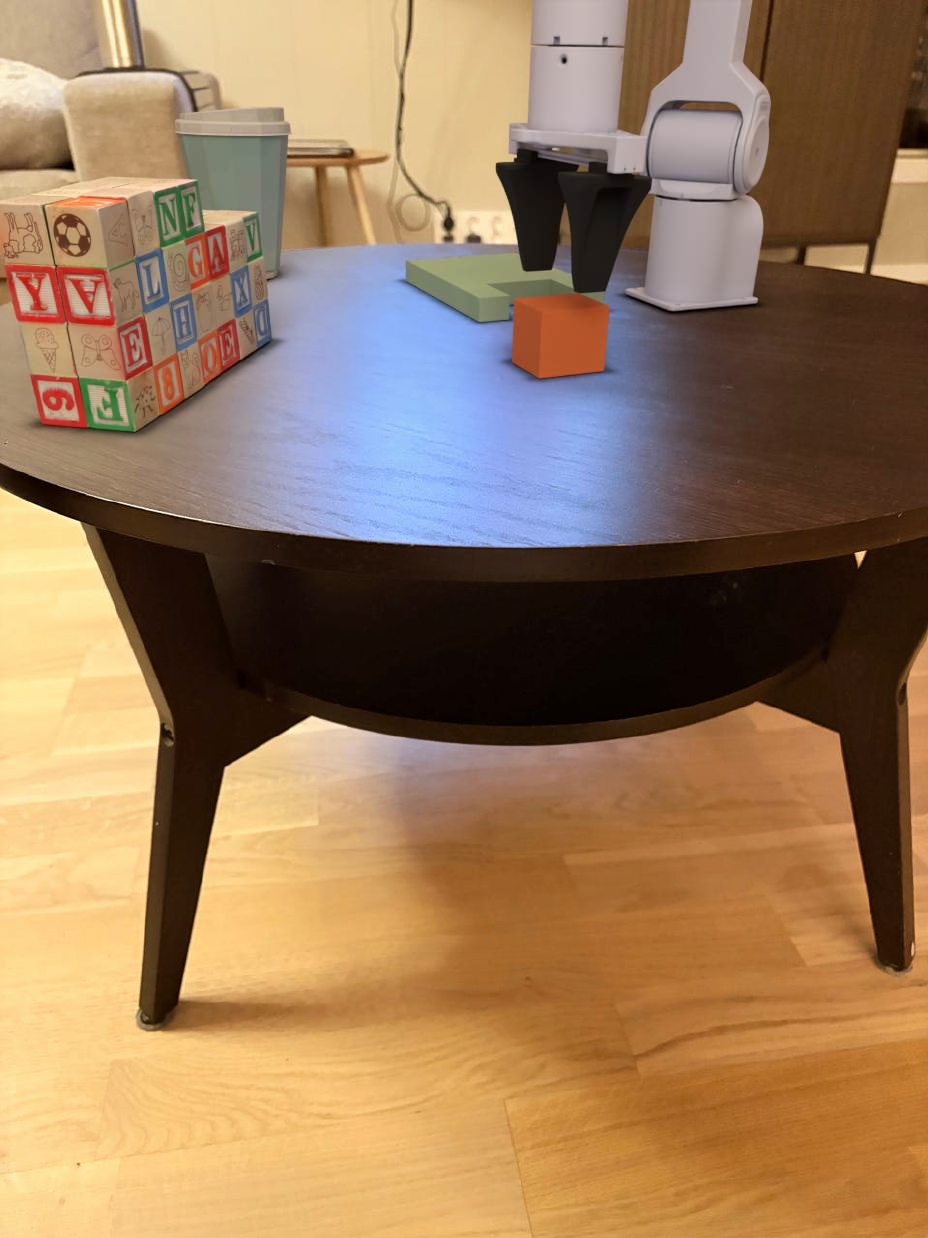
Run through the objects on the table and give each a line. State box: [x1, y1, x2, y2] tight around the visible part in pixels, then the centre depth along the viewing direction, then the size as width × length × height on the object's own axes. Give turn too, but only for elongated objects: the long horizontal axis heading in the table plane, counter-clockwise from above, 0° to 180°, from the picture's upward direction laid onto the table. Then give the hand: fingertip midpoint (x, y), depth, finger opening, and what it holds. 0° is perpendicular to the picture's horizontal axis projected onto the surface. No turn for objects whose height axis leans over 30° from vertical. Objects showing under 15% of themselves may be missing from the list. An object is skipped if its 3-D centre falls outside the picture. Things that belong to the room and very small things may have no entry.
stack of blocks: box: [0, 176, 273, 433], centre depth 60 cm, size 21×6×12 cm, turn 168°
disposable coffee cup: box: [174, 106, 292, 280], centre depth 90 cm, size 11×11×15 cm
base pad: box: [405, 252, 606, 323], centre depth 86 cm, size 12×18×2 cm, turn 23°
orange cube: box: [511, 293, 611, 380], centre depth 65 cm, size 5×4×4 cm
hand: (562, 280), depth 64 cm, fingers open, 7 cm apart
